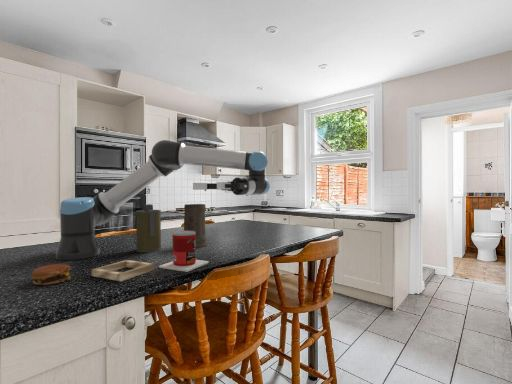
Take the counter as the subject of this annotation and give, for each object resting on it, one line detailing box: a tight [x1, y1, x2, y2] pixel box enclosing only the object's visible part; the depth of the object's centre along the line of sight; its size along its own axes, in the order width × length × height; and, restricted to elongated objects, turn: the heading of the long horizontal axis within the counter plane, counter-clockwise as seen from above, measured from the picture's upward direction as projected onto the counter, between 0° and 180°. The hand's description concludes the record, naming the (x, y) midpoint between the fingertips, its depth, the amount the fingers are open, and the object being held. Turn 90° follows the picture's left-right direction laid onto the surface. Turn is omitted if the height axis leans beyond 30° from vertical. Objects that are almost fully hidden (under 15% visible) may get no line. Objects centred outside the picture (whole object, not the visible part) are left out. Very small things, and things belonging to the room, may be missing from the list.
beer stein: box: [183, 203, 208, 249], centre depth 136 cm, size 15×11×20 cm
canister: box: [135, 203, 162, 253], centre depth 125 cm, size 11×10×20 cm
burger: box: [31, 263, 72, 286], centre depth 83 cm, size 10×9×5 cm
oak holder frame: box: [91, 259, 155, 282], centre depth 91 cm, size 13×13×2 cm
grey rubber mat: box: [158, 259, 209, 273], centre depth 100 cm, size 12×12×1 cm
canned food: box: [172, 230, 197, 266], centre depth 100 cm, size 8×8×11 cm
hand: (204, 186), depth 107 cm, fingers open, 13 cm apart
